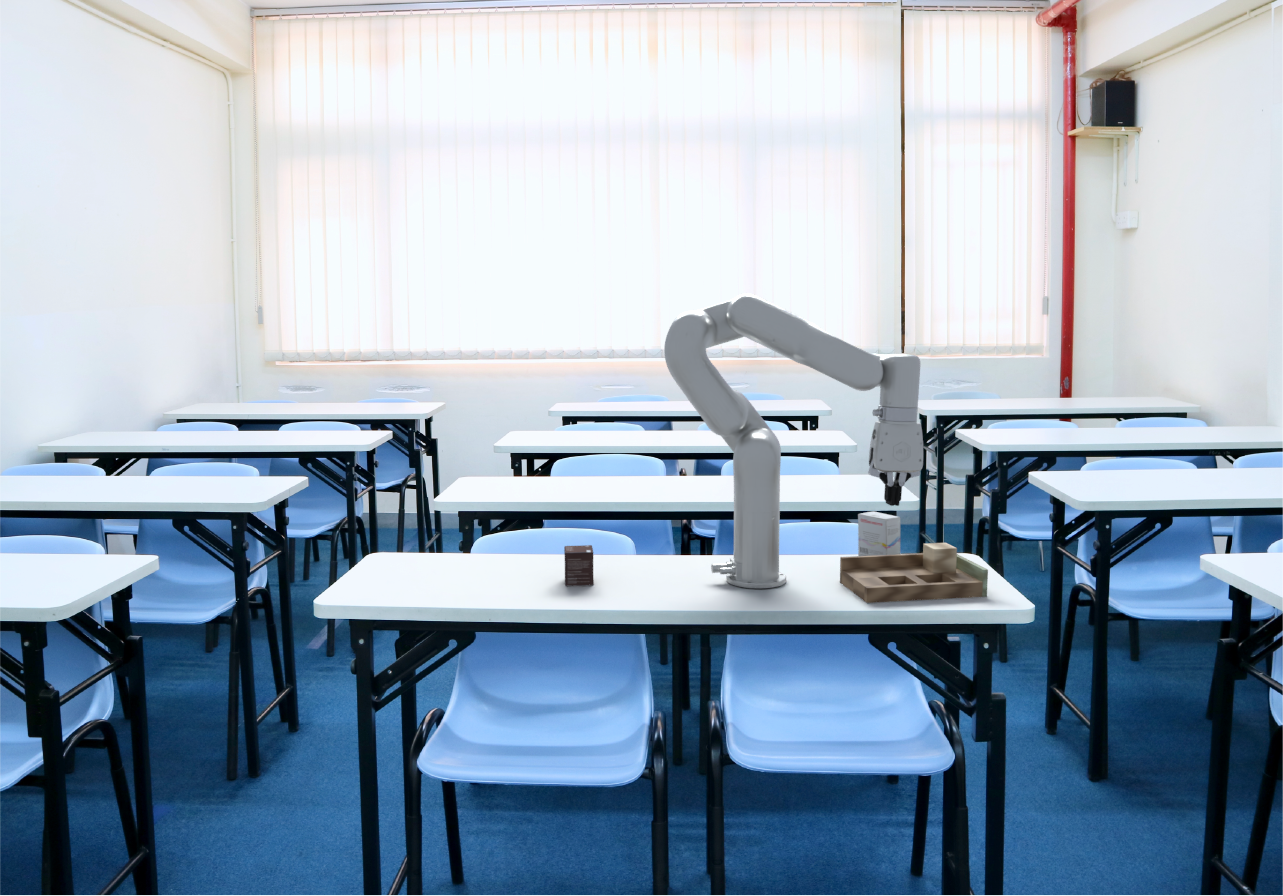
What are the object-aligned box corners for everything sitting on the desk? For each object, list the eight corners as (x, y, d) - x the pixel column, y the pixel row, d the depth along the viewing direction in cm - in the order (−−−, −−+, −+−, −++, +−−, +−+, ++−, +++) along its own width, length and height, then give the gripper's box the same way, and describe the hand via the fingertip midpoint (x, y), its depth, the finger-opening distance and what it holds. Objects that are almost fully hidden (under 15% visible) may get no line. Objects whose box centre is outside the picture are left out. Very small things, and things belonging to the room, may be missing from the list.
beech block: (933, 573, 199) (933, 549, 198) (922, 566, 204) (923, 543, 203) (956, 571, 200) (956, 548, 199) (945, 565, 205) (945, 542, 204)
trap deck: (866, 603, 189) (867, 575, 188) (839, 582, 204) (840, 557, 203) (986, 596, 192) (988, 569, 192) (952, 577, 207) (952, 551, 206)
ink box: (901, 569, 214) (903, 516, 212) (885, 572, 211) (887, 519, 210) (872, 561, 221) (873, 510, 220) (856, 564, 218) (857, 513, 217)
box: (564, 579, 208) (564, 545, 207) (592, 578, 209) (592, 544, 208) (565, 586, 202) (564, 552, 201) (593, 585, 203) (593, 551, 202)
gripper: (869, 417, 191) (864, 508, 194) (941, 417, 193) (934, 508, 196) (855, 413, 199) (850, 501, 201) (924, 413, 201) (918, 500, 203)
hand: (892, 504), depth 199 cm, fingers closed
